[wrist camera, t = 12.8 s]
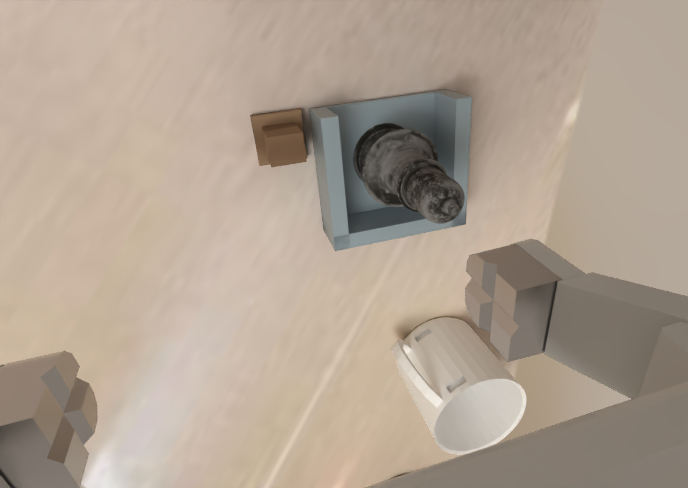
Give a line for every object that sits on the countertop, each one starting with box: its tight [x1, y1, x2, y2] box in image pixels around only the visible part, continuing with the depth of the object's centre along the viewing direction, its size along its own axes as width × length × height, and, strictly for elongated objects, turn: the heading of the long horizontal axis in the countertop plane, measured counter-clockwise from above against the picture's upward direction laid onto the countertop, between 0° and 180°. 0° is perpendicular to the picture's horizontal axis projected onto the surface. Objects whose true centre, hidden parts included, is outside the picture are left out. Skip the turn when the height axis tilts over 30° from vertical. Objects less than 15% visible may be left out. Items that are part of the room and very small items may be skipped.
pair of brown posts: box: [250, 109, 307, 167], centre depth 28 cm, size 15×4×4 cm, turn 5°
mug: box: [391, 317, 526, 455], centre depth 42 cm, size 12×9×9 cm
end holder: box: [309, 90, 472, 251], centre depth 34 cm, size 10×11×4 cm
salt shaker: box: [353, 123, 465, 224], centre depth 30 cm, size 6×6×12 cm
